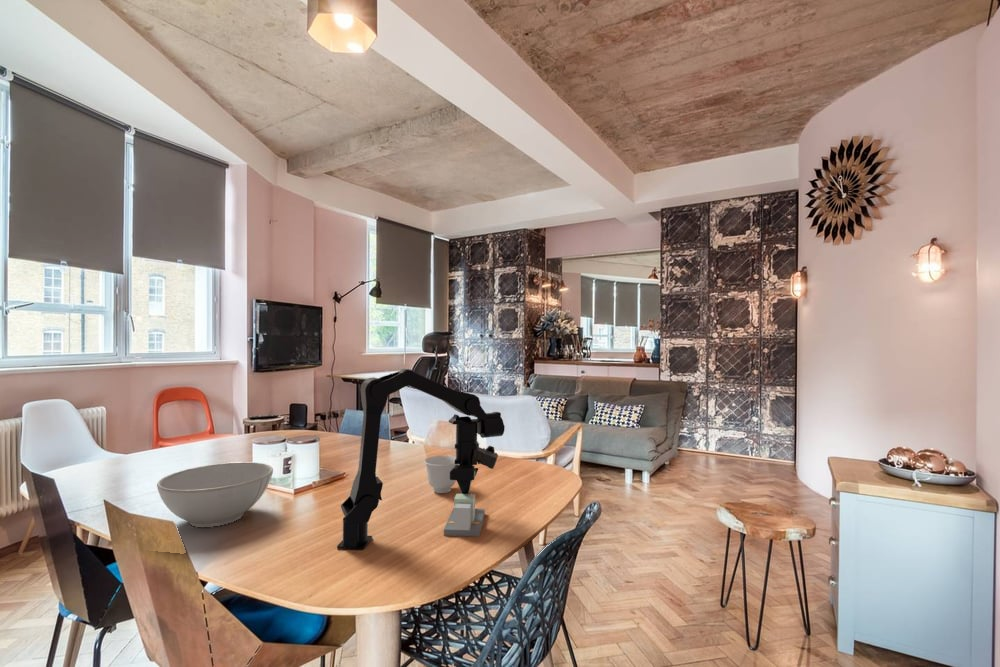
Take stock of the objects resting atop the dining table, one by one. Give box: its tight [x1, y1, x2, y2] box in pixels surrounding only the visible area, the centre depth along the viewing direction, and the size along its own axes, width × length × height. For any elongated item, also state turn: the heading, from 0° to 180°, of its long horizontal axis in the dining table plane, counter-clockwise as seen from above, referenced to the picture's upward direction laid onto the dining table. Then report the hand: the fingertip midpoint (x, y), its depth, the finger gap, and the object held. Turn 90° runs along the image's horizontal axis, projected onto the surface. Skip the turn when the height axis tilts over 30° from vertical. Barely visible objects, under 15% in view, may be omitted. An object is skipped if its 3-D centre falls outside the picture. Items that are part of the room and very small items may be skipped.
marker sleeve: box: [453, 493, 476, 523], centre depth 118 cm, size 4×5×6 cm
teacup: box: [423, 454, 459, 494], centre depth 149 cm, size 12×15×10 cm
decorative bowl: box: [156, 461, 274, 528], centre depth 122 cm, size 27×27×12 cm
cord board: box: [443, 504, 486, 538], centre depth 120 cm, size 15×9×7 cm, turn 177°
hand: (466, 497), depth 121 cm, fingers closed
